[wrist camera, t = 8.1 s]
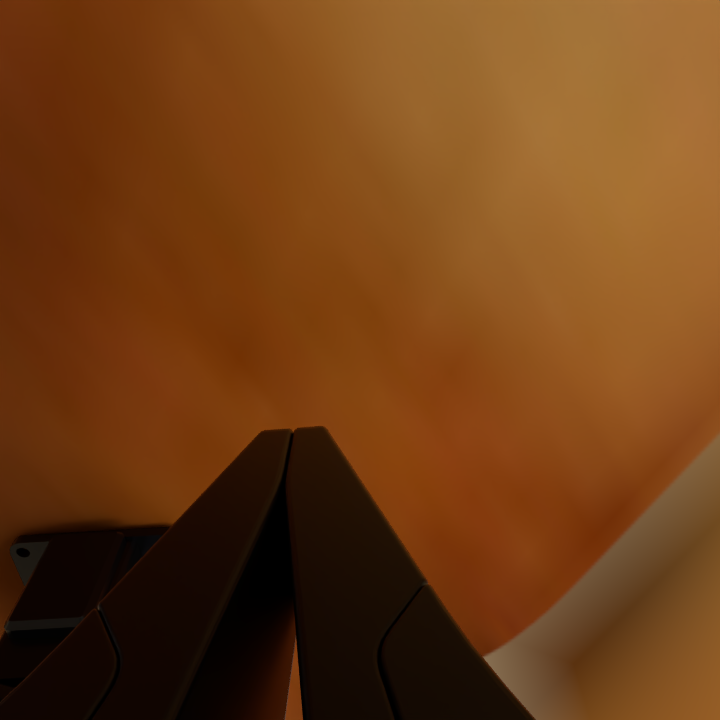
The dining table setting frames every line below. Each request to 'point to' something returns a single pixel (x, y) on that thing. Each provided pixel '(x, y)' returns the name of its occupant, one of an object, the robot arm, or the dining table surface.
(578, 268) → the dining table surface
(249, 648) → the robot arm
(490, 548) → the dining table surface
